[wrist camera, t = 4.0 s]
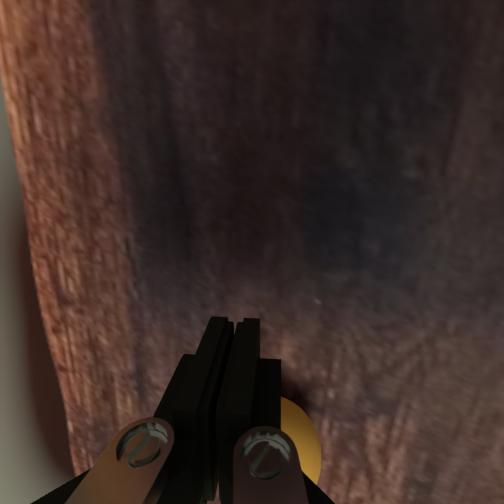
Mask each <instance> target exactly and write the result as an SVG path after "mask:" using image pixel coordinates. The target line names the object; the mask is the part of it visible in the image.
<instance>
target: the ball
mask: <svg viewBox="0 0 504 504" xmlns="http://www.w3.org/2000/svg"><path fill="white" fill-rule="evenodd" d="M281 430H282V431H283V432H285V433H286V434H287V435H289V437H290V438H291V439H292V441H293V442H294V443H295V446H296V449H297V451H298V455H299V460H300V465H301V469H302V471H303V472H304V473H305V474H306V475H307V476H308V477H309V478H310V479H311V480H312V481H313V482H314V483H315V484H316V485H317V482H318V479H319V475H320V471H321V447H320V441H319V438H318V434H317V432H316V429H315V427H314V425H313V423H312V421H311V420H310V418H309V417H308V416H307V414H306V413H305V412H304V411H303V410H302V409H301V408H300V407H299V406H298V405H296V404H295V403H293V402H292V401H290V400H288V399H286V398H283V397H281Z"/></svg>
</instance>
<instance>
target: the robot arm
mask: <svg viewBox="0 0 504 504" xmlns="http://www.w3.org/2000/svg"><path fill="white" fill-rule="evenodd" d="M218 481H219V500H220V502H221V504H335V503H334V502H333V501H332V500H331V499H330V498H329V497H328V496H327V495H326V494H325V493H324V492H323V491H322V490H321V489H320V488H319V487H318V486H317V485H316V484H315V483H314V482H313V481H312V480H311V479H310V478H309V477H308V476H307V475H306V474H305V473H304V472H303V471H302V469H301V465H300V460H299V455H298V451H297V449H296V446H295V443H294V442H293V441H292V439H291V438H290V437H289V435H287V434H286V433H285V432H283V431H282V430H281V359H264V358H260V319H256V318H244V320H243V322H238V323H237V326H236V330H235V334H234V323H233V322H228V318H227V317H211V318H210V320H209V323H208V325H207V328H206V330H205V332H204V335H203V337H202V339H201V342H200V344H199V347H198V349H197V351H196V354H195V355H193V354H184V355H183V356H182V358H181V360H180V362H179V364H178V366H177V368H176V370H175V372H174V374H173V376H172V378H171V381H170V383H169V385H168V387H167V389H166V391H165V393H164V395H163V397H162V399H161V401H160V403H159V406H158V408H157V410H156V412H155V414H154V416H153V417H149V418H143V419H139V420H137V421H135V422H132V423H130V424H129V425H127V426H126V427H125V428H123V429H122V430H121V431H120V432H119V433H118V434H117V435H116V436H115V438H114V439H113V440H112V442H111V443H110V444H109V446H108V447H107V448H106V449H105V451H104V452H103V453H102V455H101V456H100V457H99V459H98V460H97V461H96V463H95V464H94V465H93V467H92V468H91V469H89V470H87V471H86V472H84V473H82V474H81V475H79V476H77V477H75V478H74V479H72V480H70V481H69V482H67V483H65V484H63V485H62V486H60V487H59V488H57V489H55V490H53V491H52V492H50V493H48V494H46V495H45V496H43V497H41V498H40V499H38V500H36V501H35V502H33V503H31V504H207V501H214V499H215V495H216V490H217V485H218Z"/></svg>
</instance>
